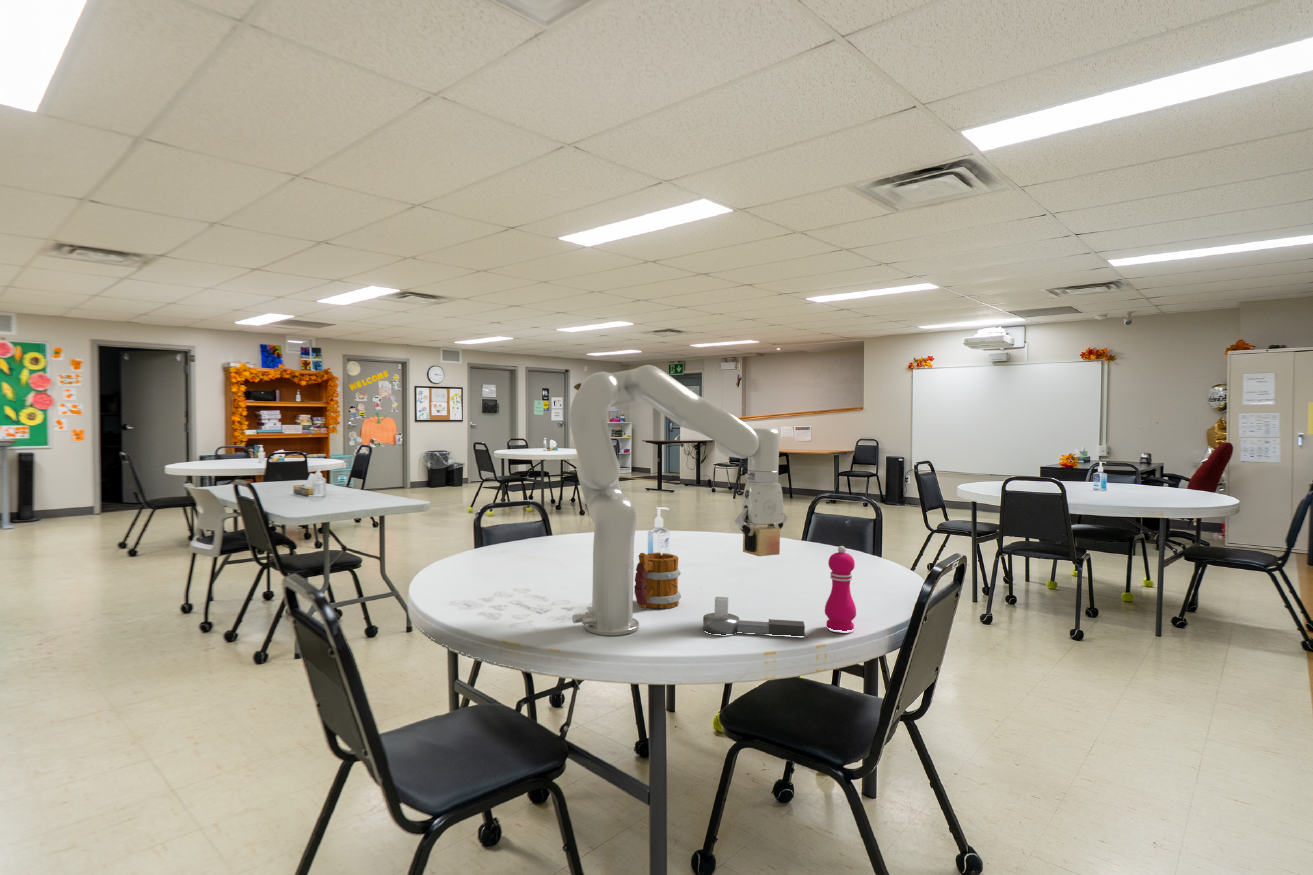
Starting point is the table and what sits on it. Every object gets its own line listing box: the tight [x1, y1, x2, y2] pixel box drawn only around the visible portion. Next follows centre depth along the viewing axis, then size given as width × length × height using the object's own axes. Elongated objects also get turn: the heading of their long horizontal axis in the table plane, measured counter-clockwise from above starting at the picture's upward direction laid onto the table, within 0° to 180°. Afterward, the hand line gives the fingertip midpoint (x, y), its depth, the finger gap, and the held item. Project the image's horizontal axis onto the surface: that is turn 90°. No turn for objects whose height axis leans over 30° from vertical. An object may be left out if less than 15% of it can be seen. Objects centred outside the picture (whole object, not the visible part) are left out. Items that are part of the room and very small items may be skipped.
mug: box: [633, 552, 682, 610], centre depth 171 cm, size 11×16×15 cm, turn 146°
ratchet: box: [702, 596, 806, 637], centre depth 150 cm, size 23×8×8 cm, turn 81°
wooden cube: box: [742, 525, 781, 557], centre depth 161 cm, size 6×6×6 cm
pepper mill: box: [824, 545, 857, 631], centre depth 154 cm, size 7×7×20 cm
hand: (761, 549), depth 161 cm, fingers closed on wooden cube, 6 cm apart
